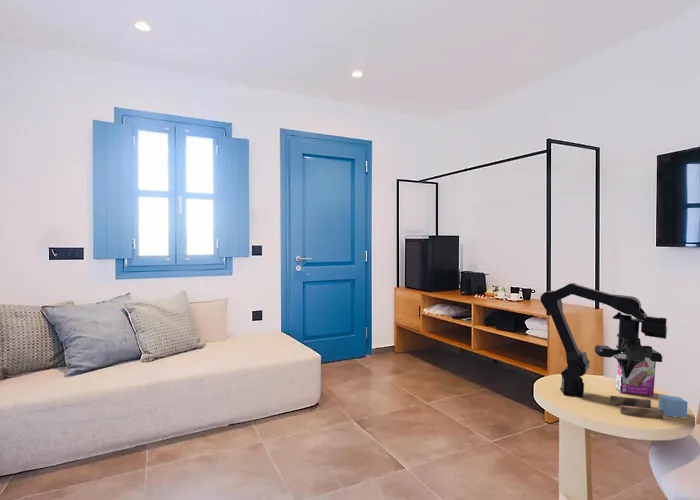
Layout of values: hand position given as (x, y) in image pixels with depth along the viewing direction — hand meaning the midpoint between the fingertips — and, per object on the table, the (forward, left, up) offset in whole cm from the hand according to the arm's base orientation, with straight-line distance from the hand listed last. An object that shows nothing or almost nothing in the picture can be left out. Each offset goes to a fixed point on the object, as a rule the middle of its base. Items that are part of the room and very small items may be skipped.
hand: (626, 377), depth 138 cm
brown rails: (+2, -2, -10) cm, 11 cm away
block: (+13, -2, -10) cm, 17 cm away
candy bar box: (+9, +16, -10) cm, 21 cm away
